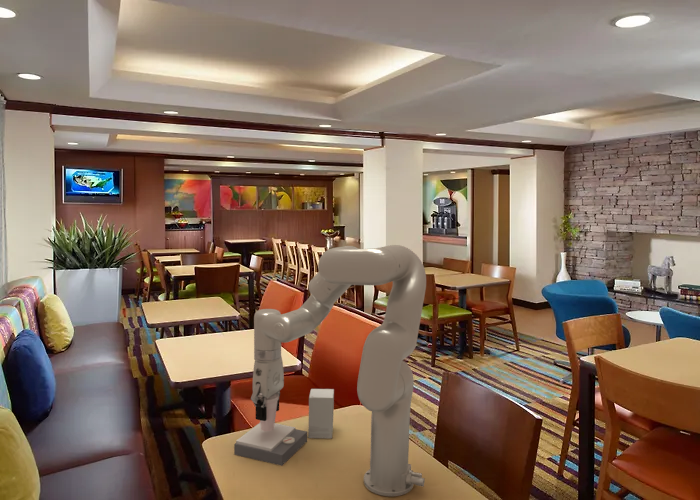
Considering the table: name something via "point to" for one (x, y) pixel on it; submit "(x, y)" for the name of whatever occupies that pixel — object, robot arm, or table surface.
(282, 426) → the scale
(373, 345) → the robot arm
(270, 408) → the smoothie
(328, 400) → the supplement box
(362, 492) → the table surface
